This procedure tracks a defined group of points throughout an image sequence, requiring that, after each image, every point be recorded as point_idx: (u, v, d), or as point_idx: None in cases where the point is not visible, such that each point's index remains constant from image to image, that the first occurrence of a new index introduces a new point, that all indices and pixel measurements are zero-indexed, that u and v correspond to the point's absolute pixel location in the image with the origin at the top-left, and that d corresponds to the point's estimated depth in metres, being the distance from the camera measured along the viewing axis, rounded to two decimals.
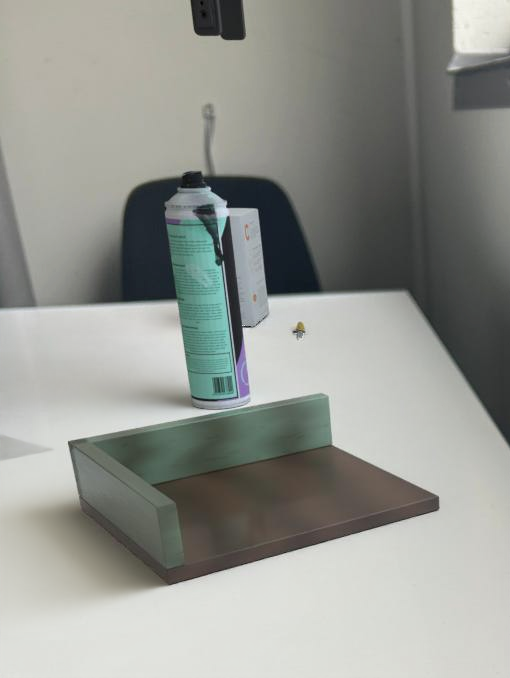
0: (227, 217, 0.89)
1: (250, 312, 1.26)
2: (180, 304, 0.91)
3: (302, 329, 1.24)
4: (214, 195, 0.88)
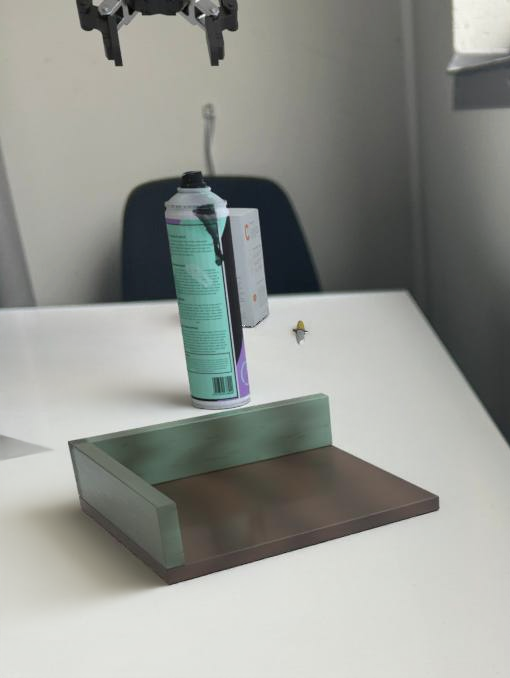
0: (227, 217, 0.89)
1: (250, 312, 1.26)
2: (180, 304, 0.91)
3: (302, 328, 1.24)
4: (214, 195, 0.88)
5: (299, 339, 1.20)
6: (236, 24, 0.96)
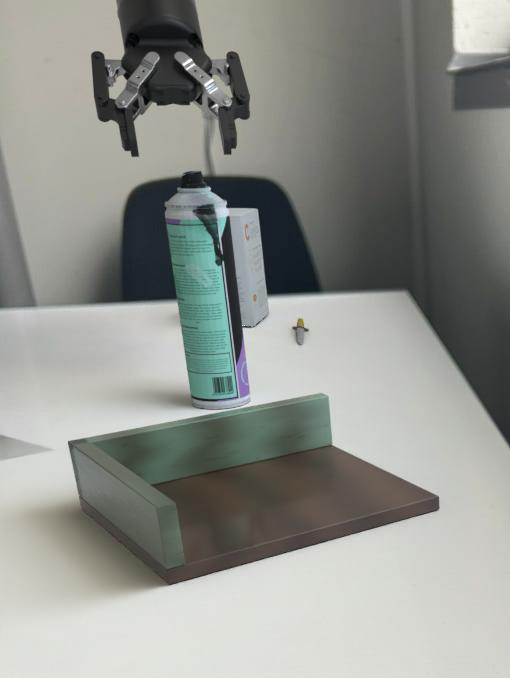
0: (227, 217, 0.89)
1: (250, 312, 1.26)
2: (180, 304, 0.91)
3: (302, 325, 1.24)
4: (214, 195, 0.88)
5: (299, 337, 1.20)
6: (248, 113, 1.00)
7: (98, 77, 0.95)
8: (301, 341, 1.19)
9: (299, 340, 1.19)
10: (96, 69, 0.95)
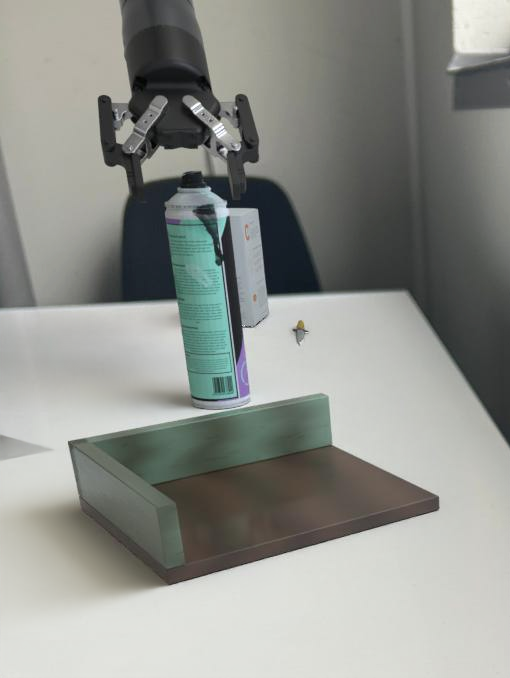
0: (227, 217, 0.89)
1: (250, 312, 1.26)
2: (180, 304, 0.91)
3: (302, 327, 1.24)
4: (214, 195, 0.88)
5: (299, 339, 1.20)
6: (257, 156, 0.98)
7: (105, 122, 0.93)
8: None
9: (298, 342, 1.19)
10: (103, 114, 0.94)
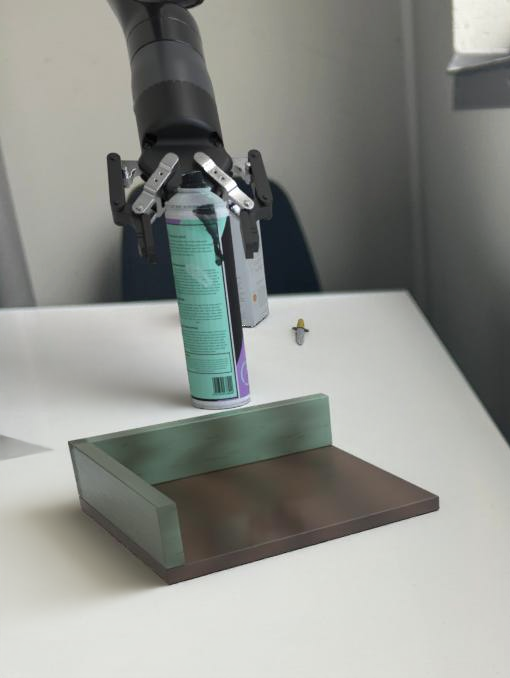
0: (227, 217, 0.89)
1: (250, 312, 1.26)
2: (180, 304, 0.91)
3: (302, 326, 1.24)
4: (214, 195, 0.88)
5: (299, 338, 1.20)
6: (270, 213, 0.95)
7: (114, 181, 0.91)
8: (301, 342, 1.19)
9: (299, 341, 1.19)
10: (112, 172, 0.91)
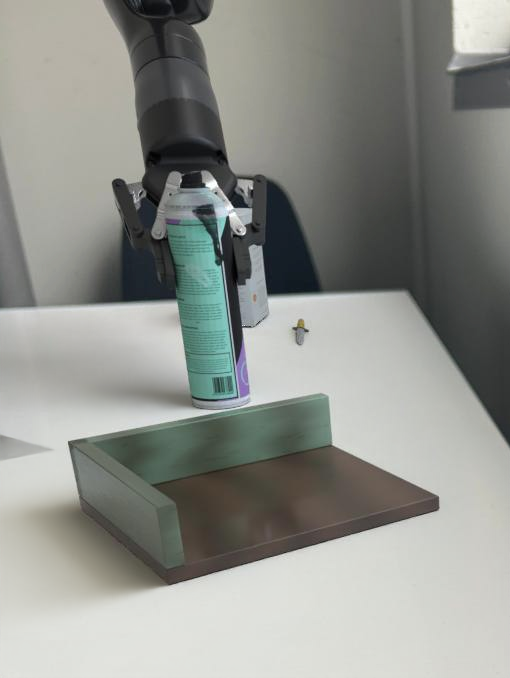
0: (227, 217, 0.89)
1: (250, 312, 1.26)
2: (180, 304, 0.91)
3: (302, 326, 1.24)
4: (214, 195, 0.88)
5: (299, 338, 1.20)
6: (262, 240, 0.94)
7: (126, 207, 0.90)
8: (300, 342, 1.19)
9: (299, 341, 1.19)
10: (122, 199, 0.90)
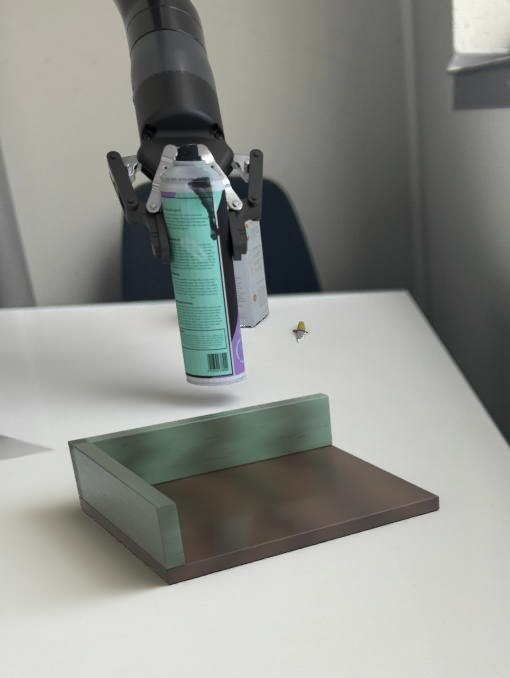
0: (223, 191, 0.88)
1: (250, 312, 1.26)
2: (175, 279, 0.91)
3: (302, 328, 1.24)
4: (210, 168, 0.88)
5: None
6: (258, 215, 0.93)
7: (121, 180, 0.89)
8: None
9: None
10: (117, 171, 0.89)
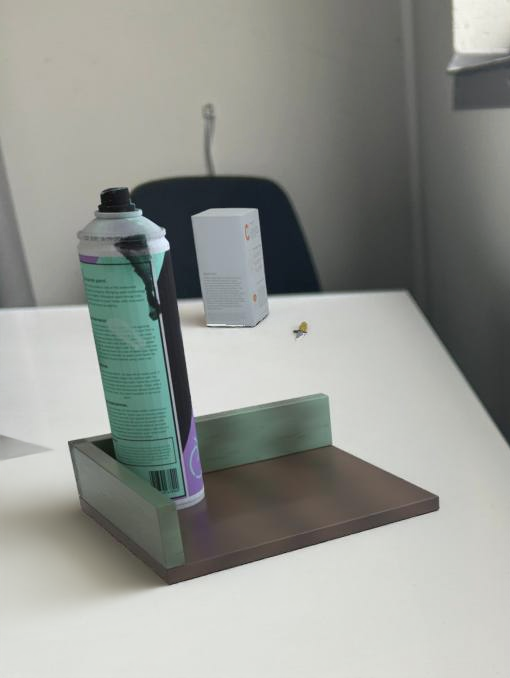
0: (166, 252, 0.63)
1: (250, 312, 1.26)
2: (102, 372, 0.66)
3: (303, 329, 1.24)
4: (147, 222, 0.63)
5: None
6: None
7: None
8: None
9: None
10: None
